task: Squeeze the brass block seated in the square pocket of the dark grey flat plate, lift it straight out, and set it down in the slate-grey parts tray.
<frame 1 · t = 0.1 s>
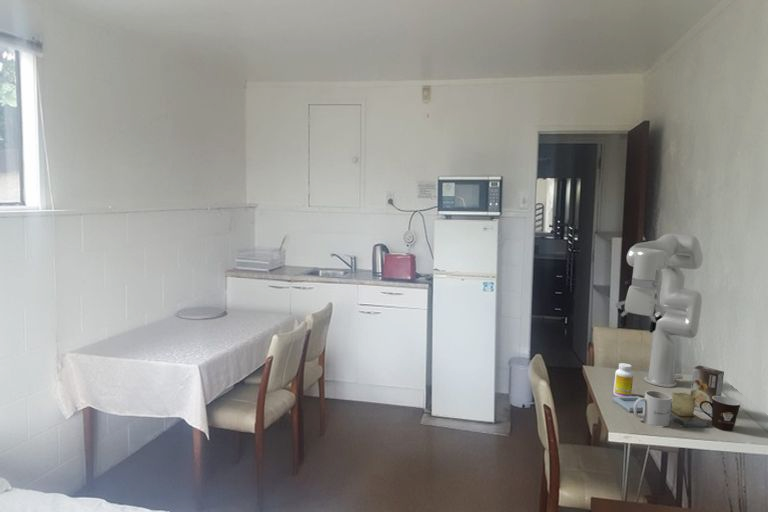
hand: (637, 329, 202), 31 cm above the table, tool pointing down, fingers open, 9 cm apart
parts tray: (633, 406, 210), on the table
supplement bottle: (621, 396, 221), on the table
coffee mug: (717, 426, 195), on the table
mug: (649, 421, 196), on the table
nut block: (681, 419, 200), resting in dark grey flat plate
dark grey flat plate: (673, 414, 204), on the table
coffee box: (703, 410, 210), on the table
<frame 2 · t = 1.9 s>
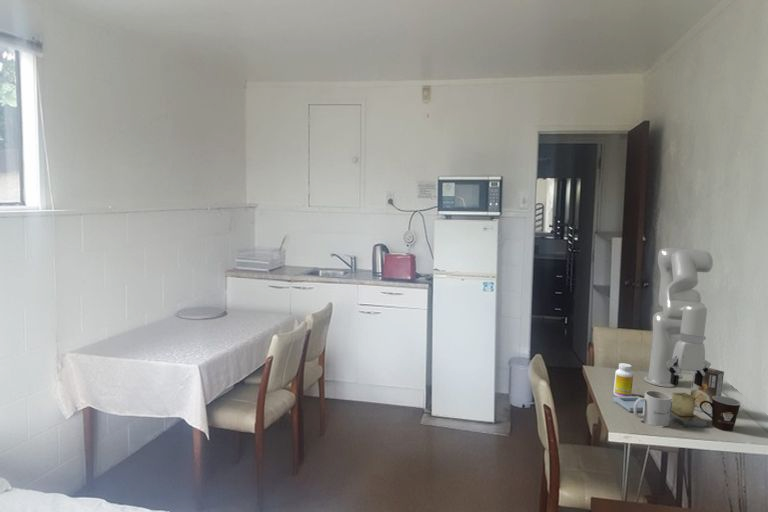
hand: (685, 385, 198), 13 cm above the table, tool pointing down, fingers open, 9 cm apart
nothing on the table moved.
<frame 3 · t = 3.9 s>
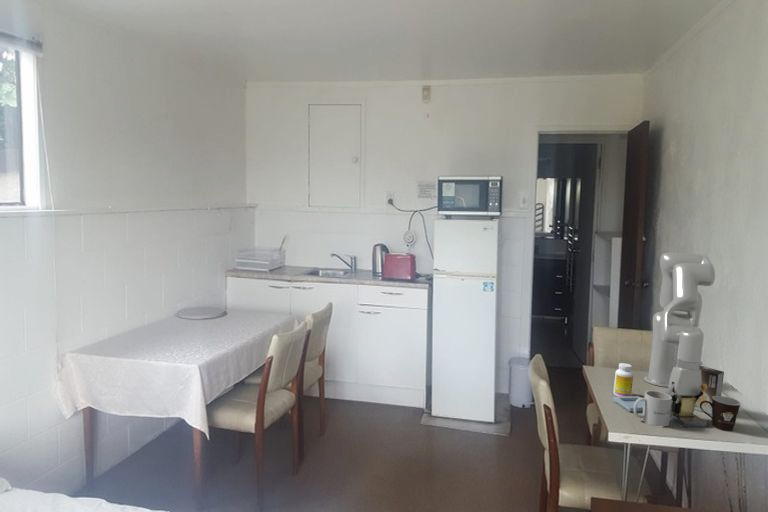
hand: (682, 412, 199), 3 cm above the table, tool pointing down, fingers closed on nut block, 5 cm apart
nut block: (681, 419, 200), resting in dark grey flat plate, touching gripper
everything else where it was.
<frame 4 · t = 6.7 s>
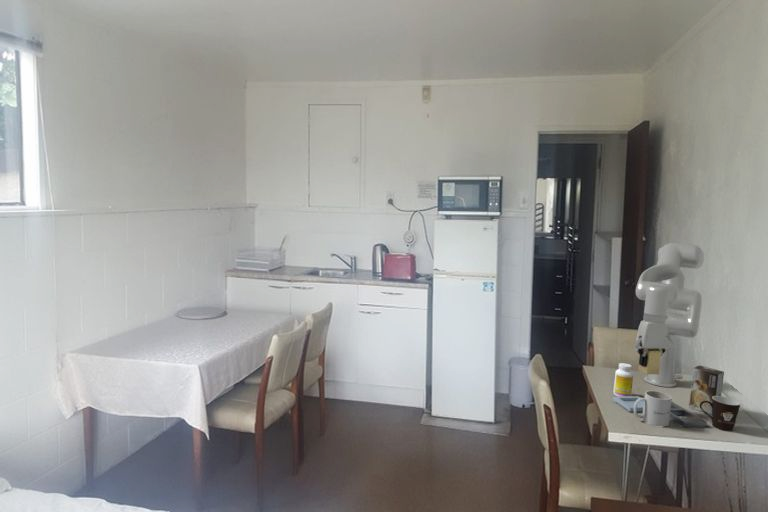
hand: (649, 365, 205), 17 cm above the table, tool pointing down, fingers closed on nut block, 5 cm apart
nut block: (648, 372, 206), point 15 cm above the table, touching gripper
everything else where it was.
when the fingers open (5 cm above the table, at t = 9.7 s): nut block drops 1 cm, resting on parts tray.
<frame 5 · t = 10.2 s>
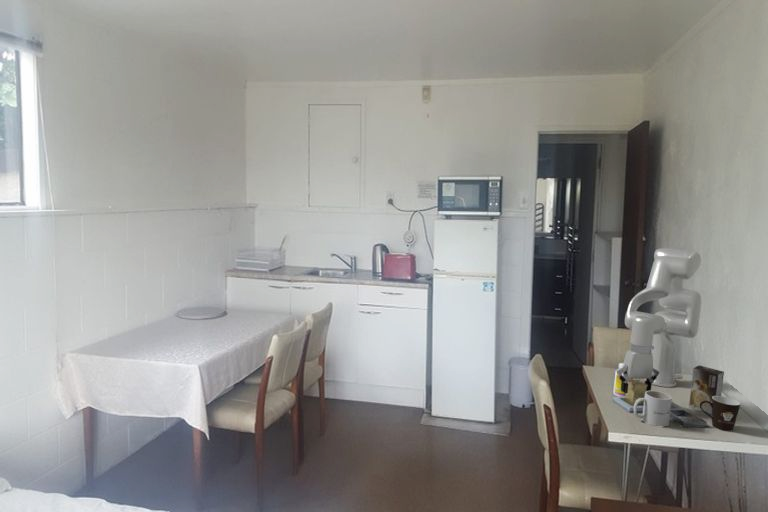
hand: (635, 392, 209), 6 cm above the table, tool pointing down, fingers open, 9 cm apart
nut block: (634, 404, 210), point 1 cm above the table, touching parts tray
everything else where it was.
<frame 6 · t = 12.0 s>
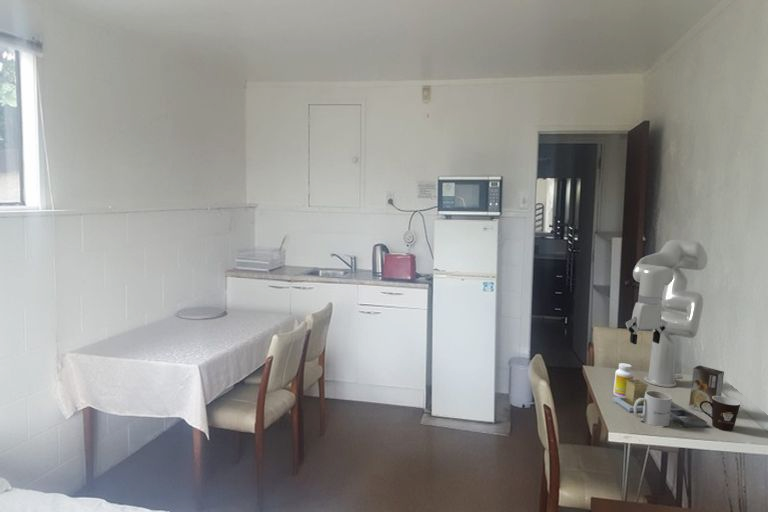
hand: (644, 342, 212), 24 cm above the table, tool pointing down, fingers open, 9 cm apart
nothing on the table moved.
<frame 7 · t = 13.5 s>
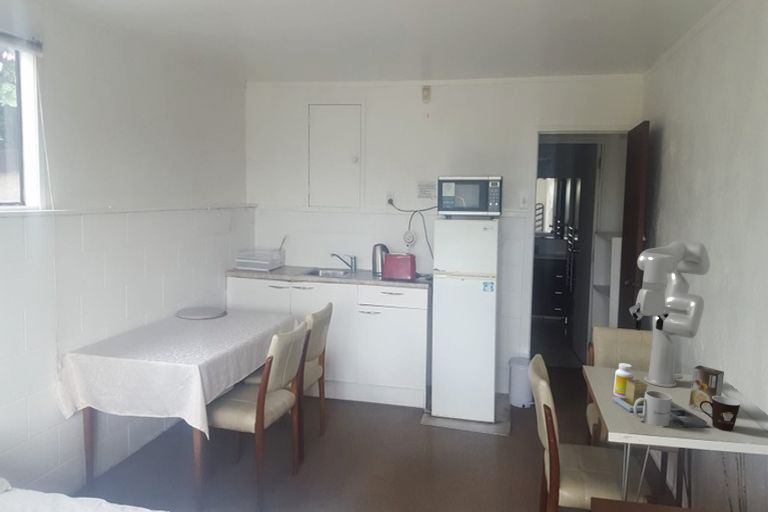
hand: (647, 329, 215), 28 cm above the table, tool pointing down, fingers open, 9 cm apart
nothing on the table moved.
at the end: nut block inside the target area on the parts tray (0.1 cm from its centre), point 0.6 cm above the parts tray's base; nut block tilted 0°; the gripper is holding nothing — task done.
